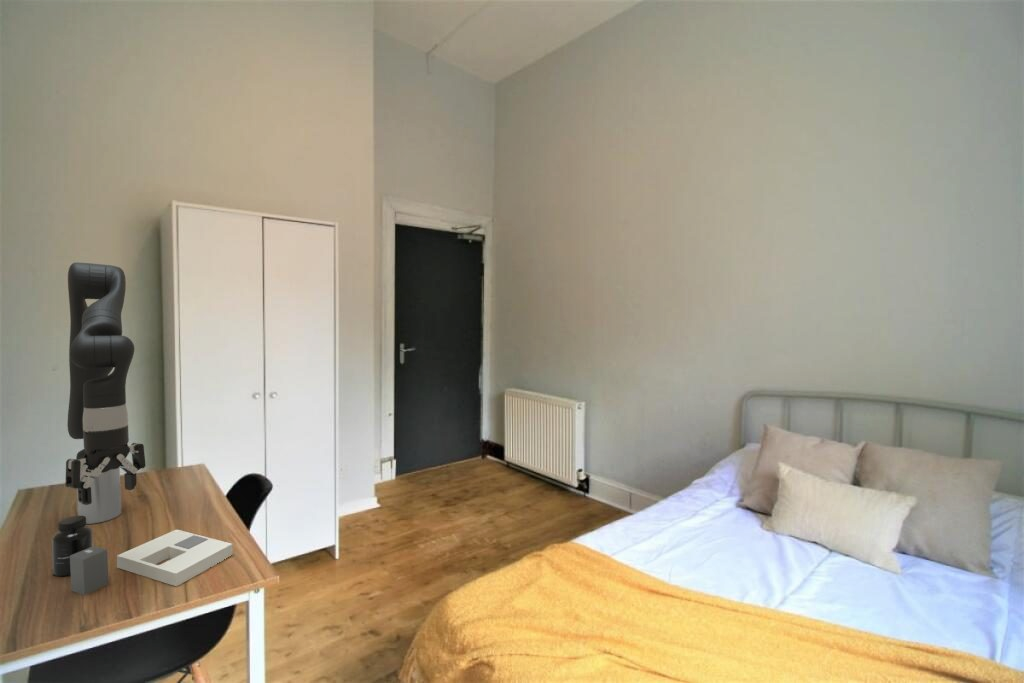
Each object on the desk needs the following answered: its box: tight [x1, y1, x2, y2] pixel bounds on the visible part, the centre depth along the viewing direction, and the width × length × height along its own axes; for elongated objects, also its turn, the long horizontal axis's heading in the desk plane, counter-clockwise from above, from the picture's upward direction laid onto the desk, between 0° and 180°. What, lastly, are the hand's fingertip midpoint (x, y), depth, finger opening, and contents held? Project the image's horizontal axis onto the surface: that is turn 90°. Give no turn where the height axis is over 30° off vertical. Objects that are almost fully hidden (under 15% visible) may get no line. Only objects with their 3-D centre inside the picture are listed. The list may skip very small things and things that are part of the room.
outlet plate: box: [116, 529, 234, 587], centre depth 113 cm, size 20×14×3 cm
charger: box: [70, 545, 109, 596], centre depth 102 cm, size 4×4×8 cm
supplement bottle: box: [51, 515, 93, 577], centre depth 108 cm, size 7×7×12 cm
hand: (108, 496), depth 103 cm, fingers open, 8 cm apart
